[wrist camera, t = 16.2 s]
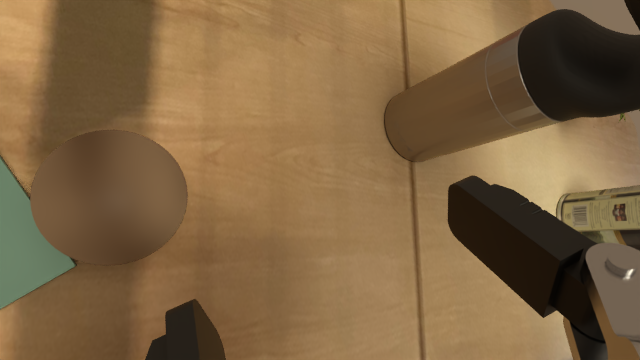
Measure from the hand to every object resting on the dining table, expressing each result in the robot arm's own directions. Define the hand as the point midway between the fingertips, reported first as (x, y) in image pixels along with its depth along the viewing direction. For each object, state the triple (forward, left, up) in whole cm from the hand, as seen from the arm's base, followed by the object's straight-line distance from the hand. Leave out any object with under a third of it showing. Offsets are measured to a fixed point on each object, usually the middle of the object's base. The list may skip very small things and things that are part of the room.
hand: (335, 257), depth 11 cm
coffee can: (-55, +32, -24) cm, 68 cm away
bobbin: (+3, -6, -24) cm, 25 cm away
